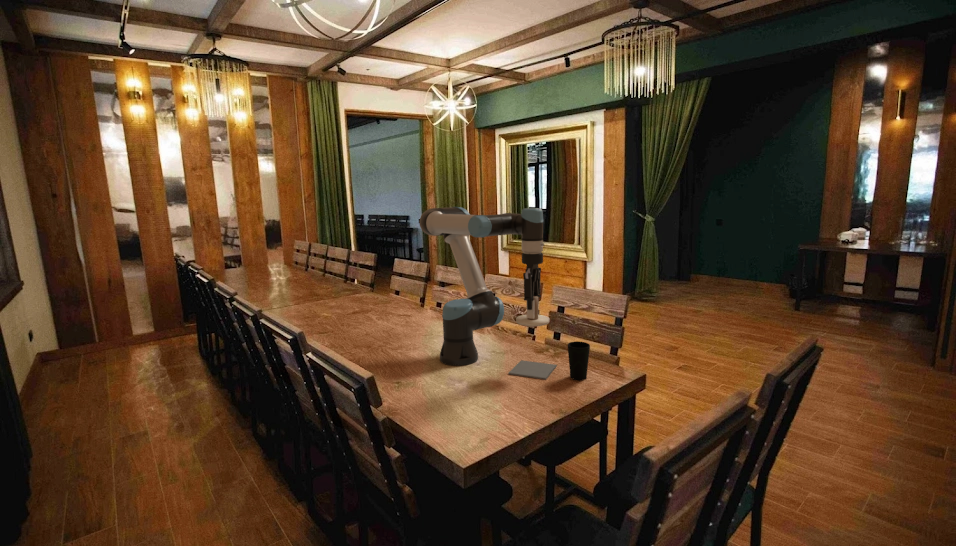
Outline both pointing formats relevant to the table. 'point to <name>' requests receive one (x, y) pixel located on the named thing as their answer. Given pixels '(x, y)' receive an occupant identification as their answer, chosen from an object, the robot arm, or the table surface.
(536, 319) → the lid
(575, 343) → the cup
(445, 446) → the table surface
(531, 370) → the mat
